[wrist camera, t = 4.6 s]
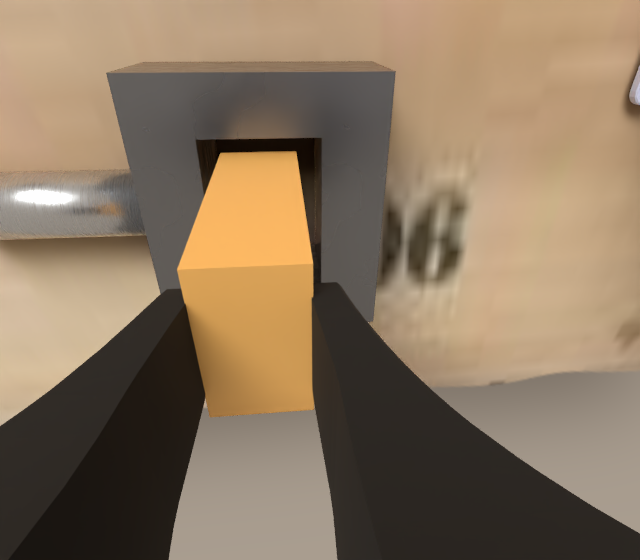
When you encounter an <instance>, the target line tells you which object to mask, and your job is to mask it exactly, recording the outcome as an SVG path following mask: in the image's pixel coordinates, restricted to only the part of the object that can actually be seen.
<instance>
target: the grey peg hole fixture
mask: <svg viewBox="0 0 640 560" xmlns="http://www.w3.org/2000/svg"><path fill="white" fill-rule="evenodd" d="M395 72H396V71H393V70H391V69H389V68H386V67H384V66H382V65H379V64H377V63H375V62H143V63H139V64H136V65H132V66H129V67H125V68H122V69H118V70H115V71H111V72H108V73H106V74H107V78H108V82H109V86H110V90H111V94H112V98H113V102H114V106H115V110H116V114H117V118H118V123H119V127H120V131H121V135H122V139H123V143H124V147H125V151H126V155H127V159H128V163H129V167H130V169H129V170H82V171H34V172H0V240H15V239H46V238H77V237H109V236H140V235H146V236H147V240H148V245H149V249H150V253H151V257H152V261H153V265H154V269H155V273H156V277H157V281H158V285H159V289H160V293H161V294H162V293H163V292H164V291H165V290H167V289H181V285H180V281H179V276H178V272H177V268H178V266H179V263H180V260H181V258H182V255H183V252H184V250H185V247H186V244H187V241H188V239H189V236H190V233H191V231H192V228H193V225H194V223H195V220H196V217H197V215H198V212H199V209H200V207H201V204H202V201H203V198H204V196H205V193H206V190H207V188H208V185H209V182H210V180H211V177H212V174H213V172H214V169H215V166H216V163H217V161H218V159H217V152H216V144H215V139H268V138H314V186H315V244H310V246H311V253H312V259H313V283H327V282H337V283H338V284H339V285H341V286H342V288H343V289H344V291H345V293H346V294H347V295H348V297H349V298H350V300H351V301H352V303H353V304H354V305H355V307H356V308H357V309H358V311H359V312H360V313H361V315H362V316H363V317H364V318H365V320H366V321H367V322H371V321H373V316H374V305H375V294H376V283H377V272H378V261H379V250H380V239H381V227H382V216H383V205H384V194H385V183H386V172H387V161H388V150H389V139H390V127H391V116H392V105H393V94H394V83H395Z"/></svg>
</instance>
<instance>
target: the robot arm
mask: <svg viewBox="0 0 640 560" xmlns="http://www.w3.org/2000/svg"><path fill="white" fill-rule="evenodd" d="M629 98H630V101H631V102H632V103H633V104H636V105H640V66H639V68H638V71H637V74H636V77H635V79H634V82H633V85H632V87H631V90H630V94H629ZM312 390H313V398H314V404H315V410H316V415H317V420H318V427H319V432H320V438H321V443H322V449H323V454H324V460H325V465H326V471H327V477H328V482H329V488H330V493H331V501H332V507H333V515H334V527H335V536H336V548H337V559H338V560H640V534H639V533H638V532H636V531H634V530H633V529H631V528H629V527H627V526H626V525H624V524H622V523H620V522H619V521H617V520H615V519H614V518H612V517H610V516H608V515H607V514H605V513H603V512H601V511H600V510H598V509H596V508H595V507H593V506H591V505H590V504H588V503H587V502H585V501H583V500H582V499H580V498H579V497H577V496H576V495H574V494H572V493H571V492H569V491H568V490H566V489H565V488H563V487H562V486H560V485H558V484H557V483H555V482H554V481H552V480H550V479H549V478H547V477H546V476H544V475H543V474H541V473H540V472H538V471H537V470H535V469H534V468H532V467H531V466H530V465H528V464H527V463H525V462H524V461H522V460H521V459H519V458H518V457H516V456H515V455H514V454H512V453H511V452H510V451H508V450H507V449H505V448H504V447H503V446H501V445H500V444H499V443H497V442H496V441H494V440H493V439H492V438H491V437H489V436H487V435H486V434H485V433H484V432H482V431H480V430H479V429H478V428H477V427H475V426H474V425H473V424H471V423H470V422H469V421H468V420H466V419H465V418H464V417H463V416H461V415H460V414H459V413H458V412H457V411H455V410H454V409H453V408H452V407H450V406H449V405H448V404H447V403H446V402H445V401H444V400H442V399H441V398H440V397H439V396H438V395H437V394H436V393H434V392H433V391H432V390H431V389H430V388H429V387H428V386H427V385H426V384H425V383H424V382H422V381H421V380H420V379H419V378H418V377H417V376H416V375H415V374H414V373H413V372H412V371H411V370H410V369H409V368H408V367H407V366H406V365H405V364H404V363H403V362H402V361H401V360H400V359H399V358H398V357H397V355H396V354H395V353H394V352H393V351H392V350H391V349H390V348H389V347H388V346H387V345H386V343H385V342H384V341H383V340H382V339H381V338H380V336H379V335H378V334H377V333H376V332H375V331H374V329H373V328H372V327H371V326H370V325H369V323H368V322H367V321H366V320H365V318H364V317H363V316H362V315H361V313H360V312H359V311H358V309H357V308H356V307H355V305H354V304H353V303H352V301H351V300H350V298H349V297H348V295H347V294H346V293H345V291H344V289H343V288H342V286H341V285H339V284H338V283H337V282H327V283H313V297H312ZM204 401H205V390H204V386H203V381H202V377H201V372H200V368H199V363H198V359H197V354H196V349H195V345H194V340H193V336H192V331H191V327H190V322H189V318H188V313H187V309H186V304H185V303H184V299H183V294H182V290H181V289H167V290H165V291H164V292H163V293H162V294H161V295H159V296H158V297H157V298H156V299H155V300H154V301H153V302H152V303H151V304H150V305H149V306H148V307H146V308H145V309H144V310H143V311H142V312H141V313H140V314H139V315H138V316H137V317H136V318H135V319H134V320H132V321H131V322H130V323H129V324H128V325H127V326H126V327H125V328H124V329H123V330H121V331H120V332H119V333H118V334H117V335H116V336H115V337H114V338H113V339H111V340H110V341H109V342H108V343H107V344H106V345H105V346H104V347H102V348H101V349H100V350H99V351H98V352H97V353H95V354H94V355H93V356H92V357H90V358H89V359H88V360H87V361H86V362H84V363H83V364H82V365H81V366H79V367H78V368H77V369H76V370H75V371H73V372H72V373H71V374H70V375H69V376H67V377H66V378H65V379H64V380H62V381H61V382H60V383H59V384H58V385H56V386H55V387H54V388H52V389H51V390H50V391H48V392H47V393H46V394H45V395H43V396H42V397H41V398H39V399H38V400H36V401H35V402H34V403H32V404H31V405H30V406H28V407H27V408H26V409H24V410H23V411H21V412H20V413H18V414H17V415H16V416H14V417H13V418H11V419H10V420H8V421H7V422H6V423H4V424H3V425H1V426H0V560H168V559H169V552H170V545H171V540H172V533H173V528H174V522H175V518H176V513H177V509H178V504H179V500H180V496H181V492H182V488H183V484H184V480H185V476H186V472H187V468H188V464H189V461H190V457H191V453H192V449H193V445H194V441H195V437H196V433H197V429H198V425H199V421H200V417H201V413H202V409H203V405H204Z"/></svg>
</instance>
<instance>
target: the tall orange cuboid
mask: <svg viewBox="0 0 640 560" xmlns="http://www.w3.org/2000/svg"><path fill="white" fill-rule="evenodd" d="M177 272H178V276H179V281H180V285H181V290H182V294H183V299H184V303H185V304H186V309H187V313H188V318H189V322H190V327H191V331H192V336H193V340H194V345H195V349H196V354H197V359H198V363H199V368H200V372H201V377H202V381H203V386H204V390H205V398H206V402H207V407H208V411H209V416H210V417H220V416H234V415H247V414H261V413H275V412H289V411H302V410H314V398H313V390H312V297H313V259H312V253H311V246H310V239H309V233H308V226H307V220H306V213H305V206H304V200H303V193H302V187H301V180H300V173H299V167H298V160H297V154H296V151H278V152H233V153H220V155H219V158H218V161H217V163H216V166H215V169H214V172H213V174H212V177H211V180H210V182H209V185H208V188H207V190H206V193H205V196H204V198H203V201H202V204H201V207H200V209H199V212H198V215H197V217H196V220H195V223H194V225H193V228H192V231H191V233H190V236H189V239H188V241H187V244H186V247H185V250H184V252H183V255H182V258H181V260H180V263H179V266H178V268H177Z"/></svg>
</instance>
